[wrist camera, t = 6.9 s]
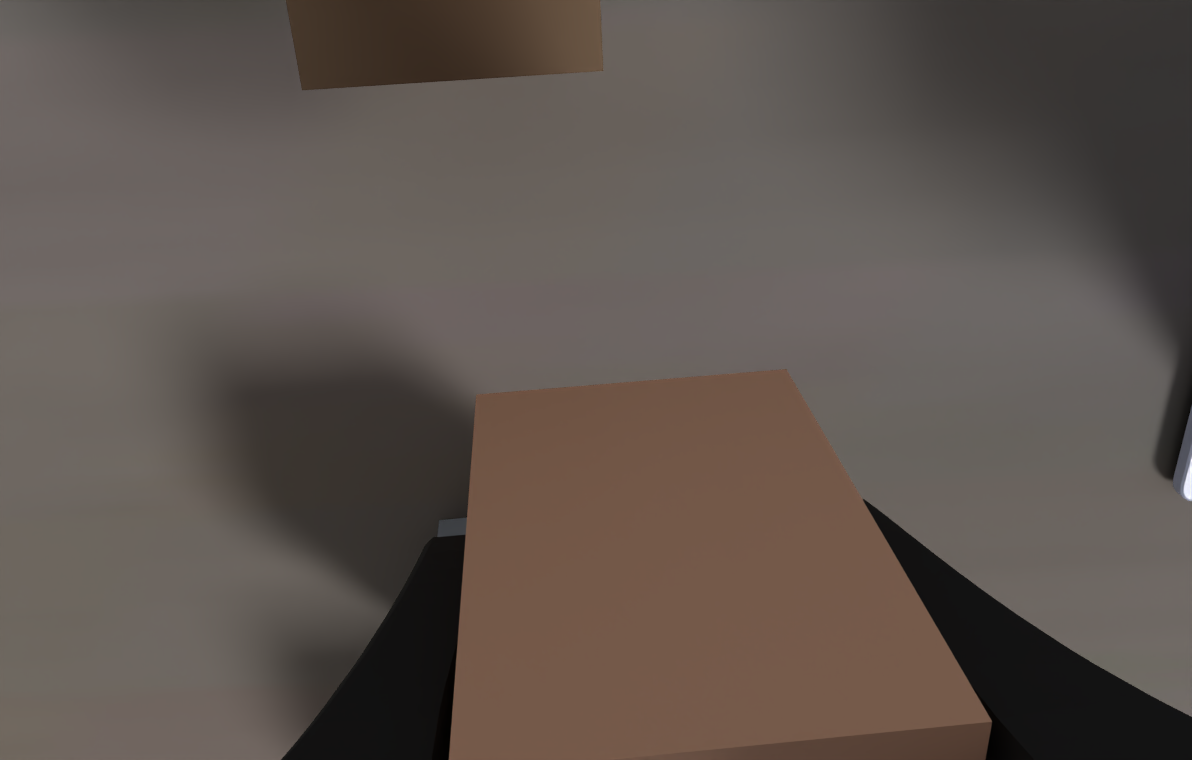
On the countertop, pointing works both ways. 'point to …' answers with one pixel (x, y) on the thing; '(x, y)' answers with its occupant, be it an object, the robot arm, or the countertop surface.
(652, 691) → the terracotta block
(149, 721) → the countertop surface
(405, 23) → the walnut block
